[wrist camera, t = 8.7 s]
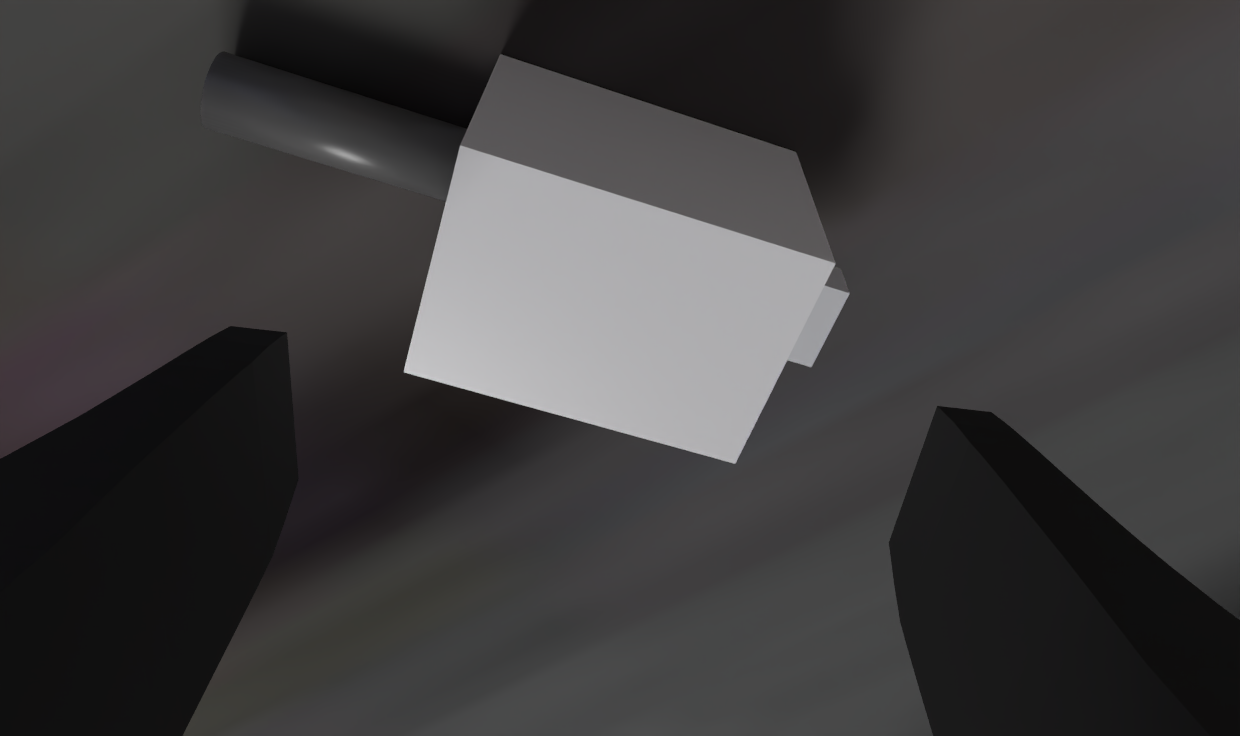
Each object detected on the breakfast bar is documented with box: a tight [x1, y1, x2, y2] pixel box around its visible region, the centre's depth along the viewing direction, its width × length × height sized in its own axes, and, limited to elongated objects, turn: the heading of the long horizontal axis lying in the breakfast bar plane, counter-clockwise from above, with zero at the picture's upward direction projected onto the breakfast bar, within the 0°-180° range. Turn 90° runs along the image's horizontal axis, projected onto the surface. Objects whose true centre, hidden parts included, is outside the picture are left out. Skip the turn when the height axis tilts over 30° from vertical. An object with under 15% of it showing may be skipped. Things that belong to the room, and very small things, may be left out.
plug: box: [201, 52, 850, 464], centre depth 15 cm, size 10×4×4 cm, turn 72°
